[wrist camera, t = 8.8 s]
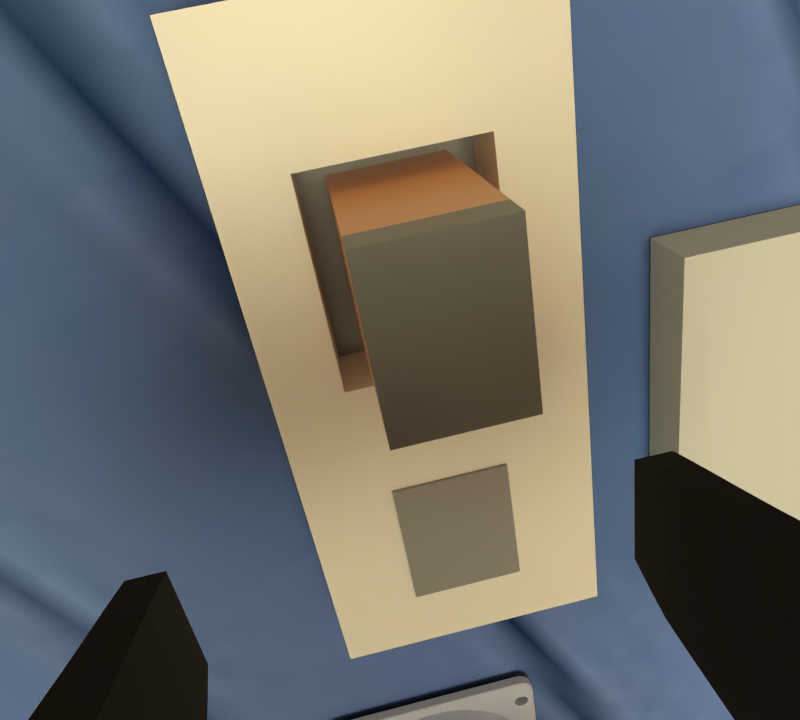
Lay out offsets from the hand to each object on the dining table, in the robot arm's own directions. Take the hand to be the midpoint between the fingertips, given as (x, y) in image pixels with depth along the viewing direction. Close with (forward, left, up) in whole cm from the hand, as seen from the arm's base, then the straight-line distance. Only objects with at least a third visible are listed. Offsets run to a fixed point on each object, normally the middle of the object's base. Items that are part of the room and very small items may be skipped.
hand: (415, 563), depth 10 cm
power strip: (-1, -2, -9) cm, 9 cm away
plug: (+2, -2, -9) cm, 9 cm away
